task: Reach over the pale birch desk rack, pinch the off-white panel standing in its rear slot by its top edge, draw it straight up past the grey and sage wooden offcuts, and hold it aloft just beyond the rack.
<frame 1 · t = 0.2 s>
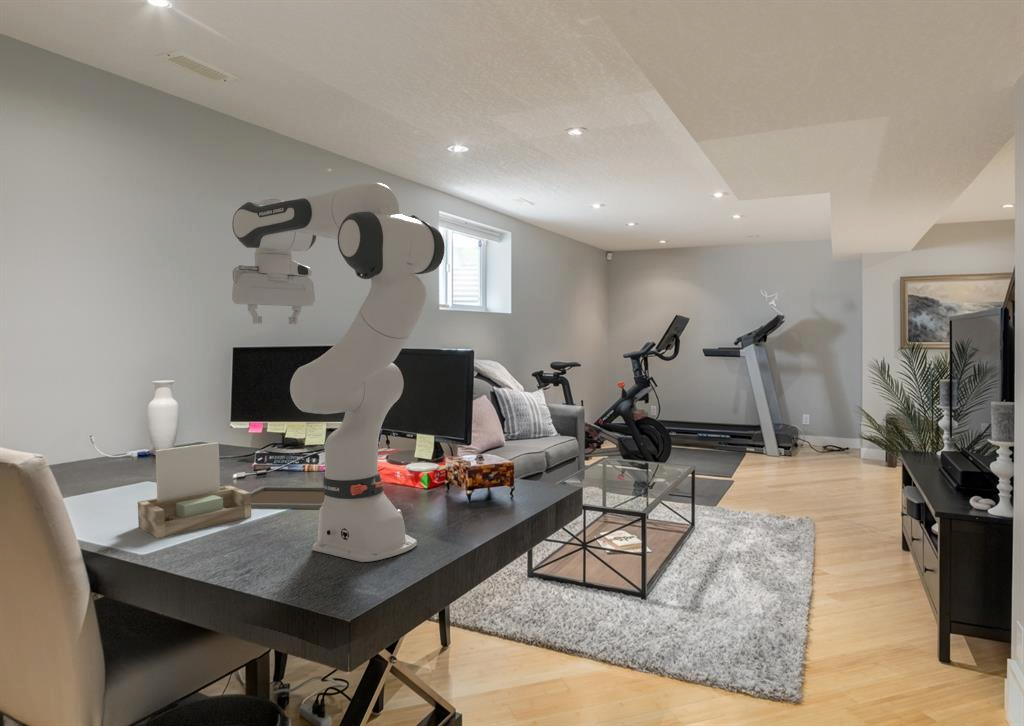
hand: (275, 323, 152), 48 cm above the table, fingers open, 8 cm apart
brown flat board: (286, 501, 169), on the table
off-white rectangular board: (190, 519, 151), resting in rack
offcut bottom: (199, 525, 147), resting in rack
offcut top: (200, 512, 147), point 3 cm above the table
rack: (190, 518, 151), on the table
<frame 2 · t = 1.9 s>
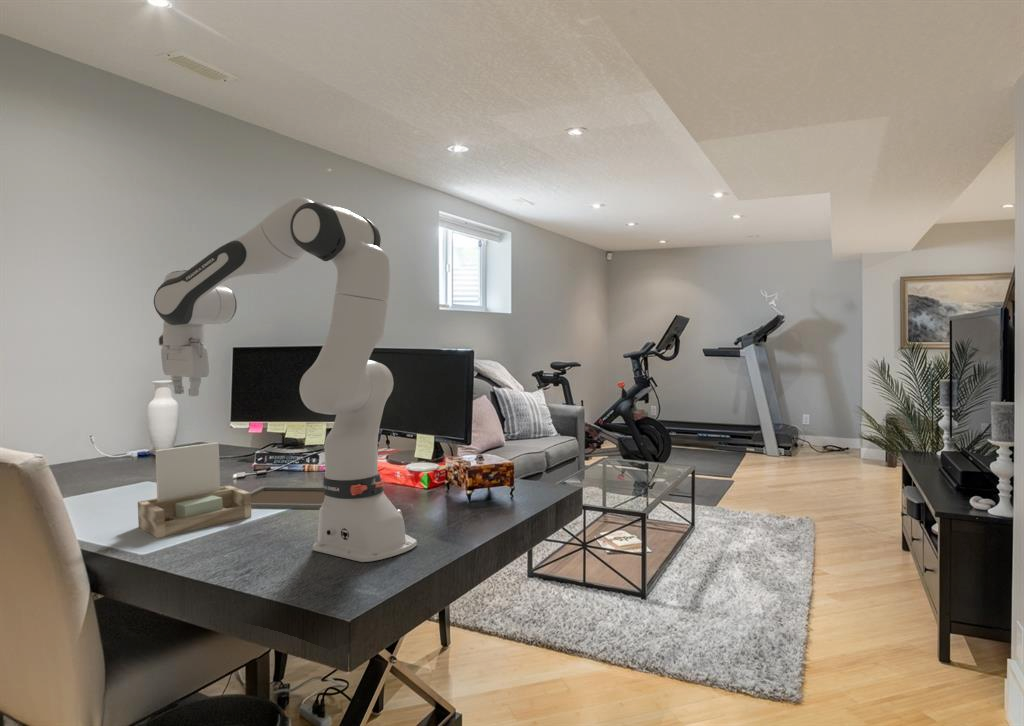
hand: (186, 395, 150), 31 cm above the table, fingers open, 8 cm apart
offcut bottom: (199, 525, 147), resting in rack, touching offcut top
offcut top: (199, 512, 147), point 3 cm above the table, touching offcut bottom
everything else where it was.
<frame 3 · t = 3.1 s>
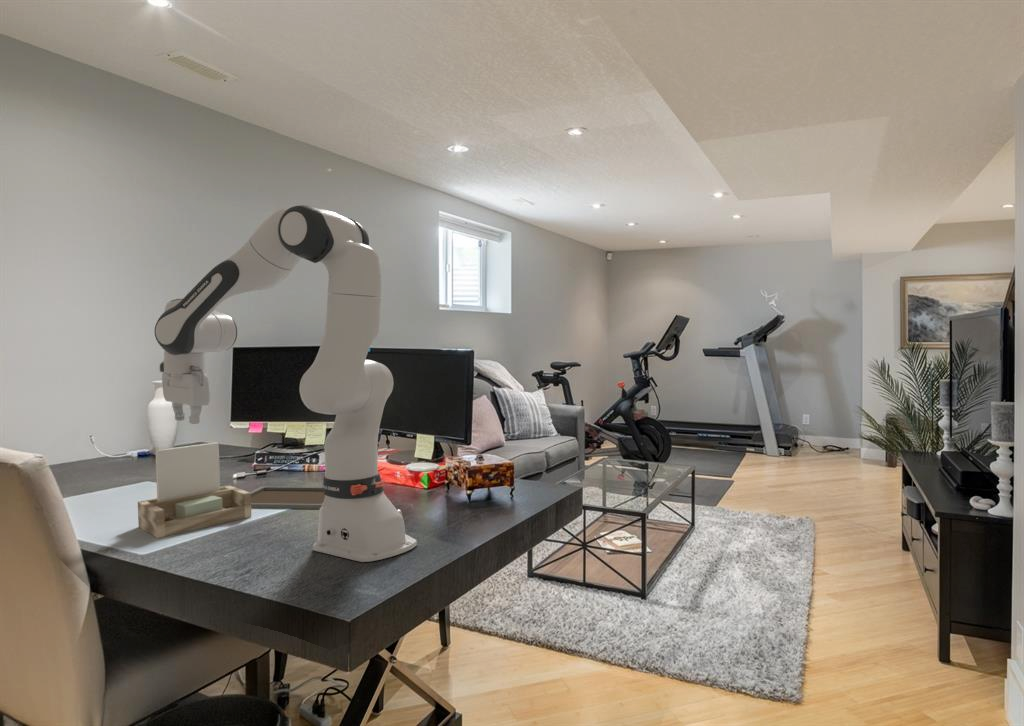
hand: (187, 422, 150), 24 cm above the table, fingers open, 8 cm apart
nothing on the table moved.
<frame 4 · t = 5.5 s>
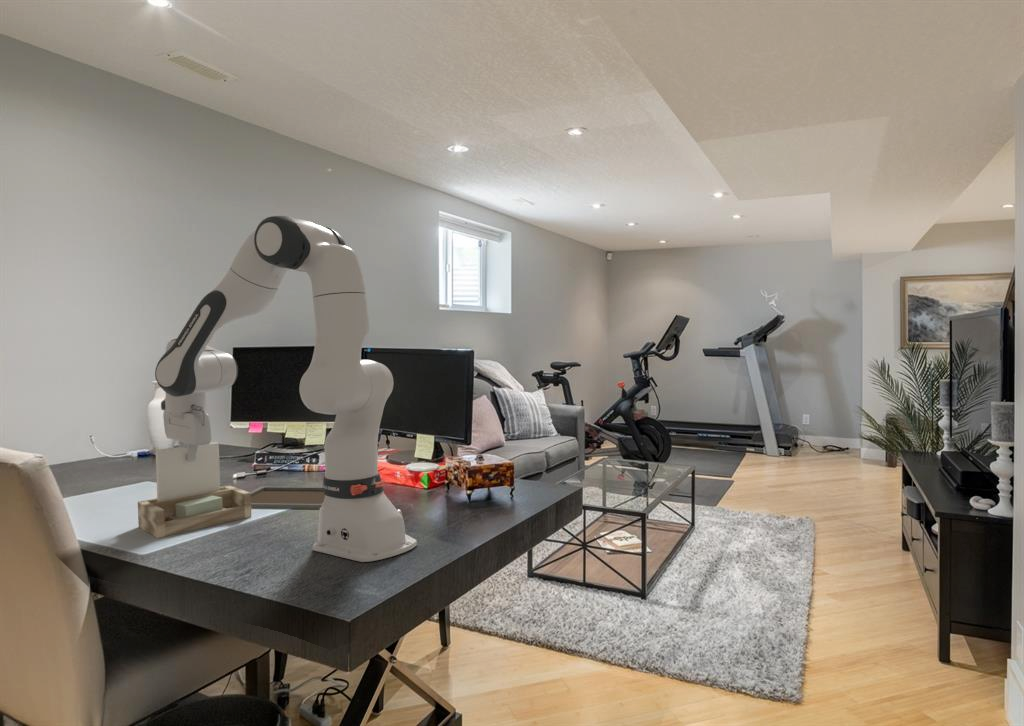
hand: (188, 459, 150), 15 cm above the table, fingers closed on off-white rectangular board, 2 cm apart
off-white rectangular board: (190, 519, 151), resting in rack, touching gripper
everything else where it was.
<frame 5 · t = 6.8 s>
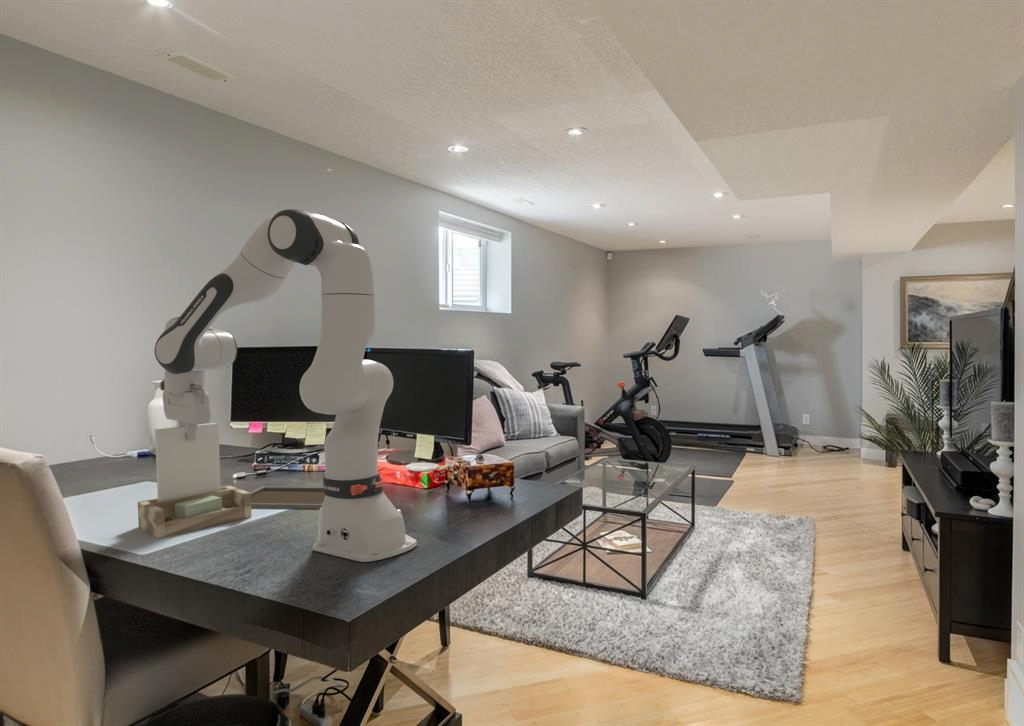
hand: (188, 439, 150), 20 cm above the table, fingers closed on off-white rectangular board
off-white rectangular board: (190, 499, 151), point 5 cm above the table, touching gripper
everything else where it was.
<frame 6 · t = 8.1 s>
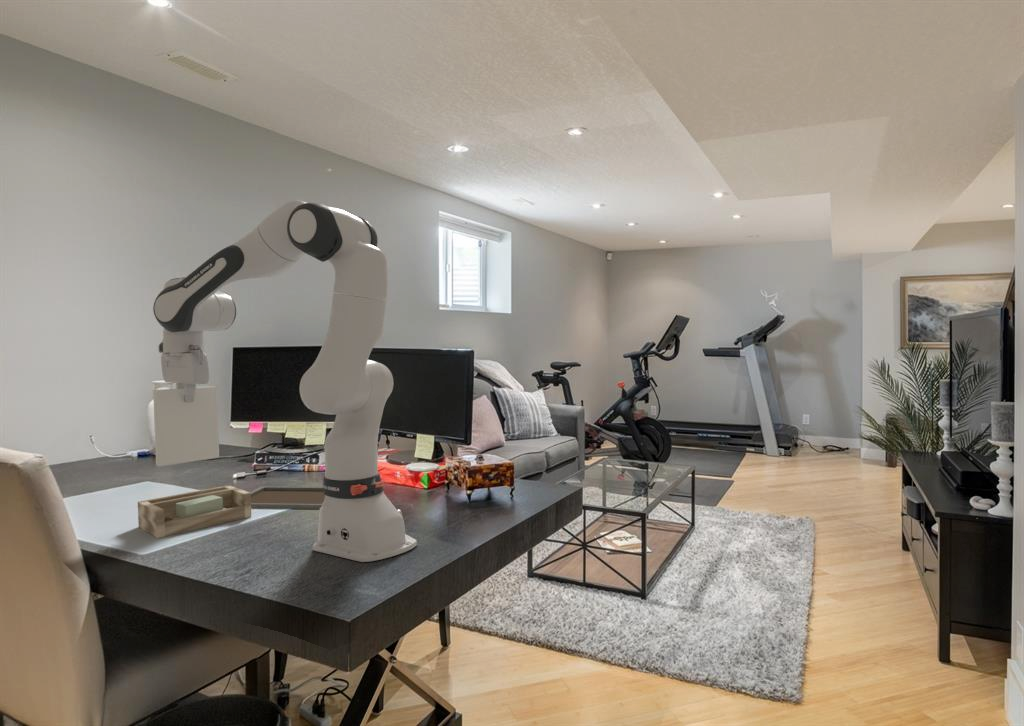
hand: (186, 401, 150), 29 cm above the table, fingers closed on off-white rectangular board
off-white rectangular board: (188, 461, 150), point 14 cm above the table, touching gripper
everything else where it was.
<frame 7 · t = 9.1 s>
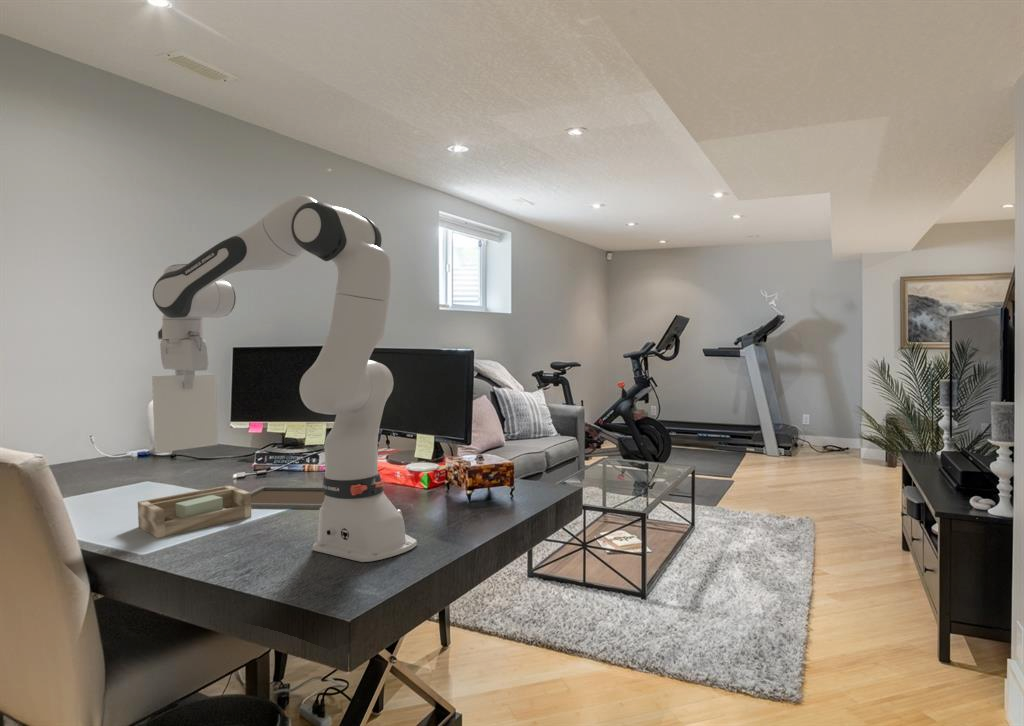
hand: (185, 388, 150), 32 cm above the table, fingers closed on off-white rectangular board
off-white rectangular board: (187, 448, 150), point 18 cm above the table, touching gripper
everything else where it was.
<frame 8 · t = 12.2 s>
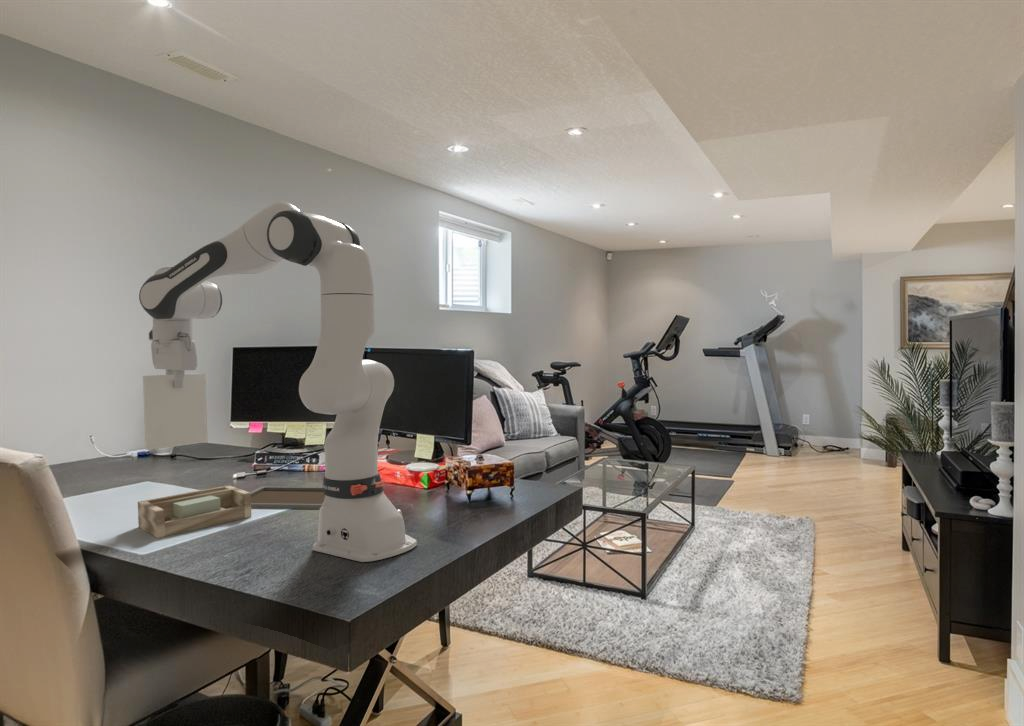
hand: (175, 387, 154), 32 cm above the table, fingers closed on off-white rectangular board
off-white rectangular board: (177, 445, 155), point 17 cm above the table, touching gripper
everything else where it was.
at the end: off-white rectangular board inside the target area (3.2 cm from its centre), point 17.4 cm above the table; the gripper is holding off-white rectangular board; off-white rectangular board touching gripper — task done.
